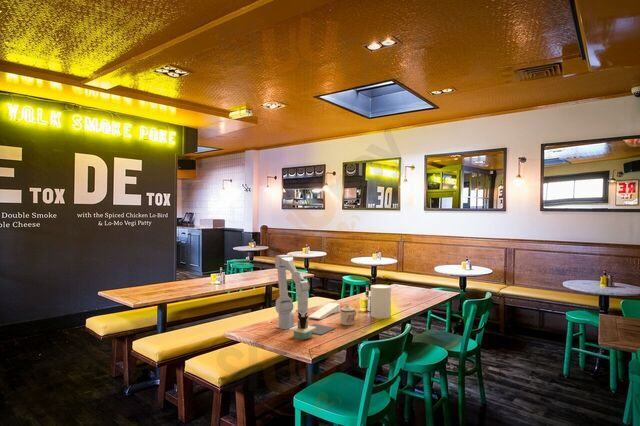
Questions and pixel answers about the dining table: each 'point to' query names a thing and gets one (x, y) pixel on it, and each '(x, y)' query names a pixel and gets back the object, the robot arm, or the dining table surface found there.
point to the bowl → (302, 335)
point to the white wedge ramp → (326, 311)
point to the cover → (302, 330)
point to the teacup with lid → (347, 315)
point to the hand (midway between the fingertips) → (302, 326)
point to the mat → (321, 329)
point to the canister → (380, 301)
